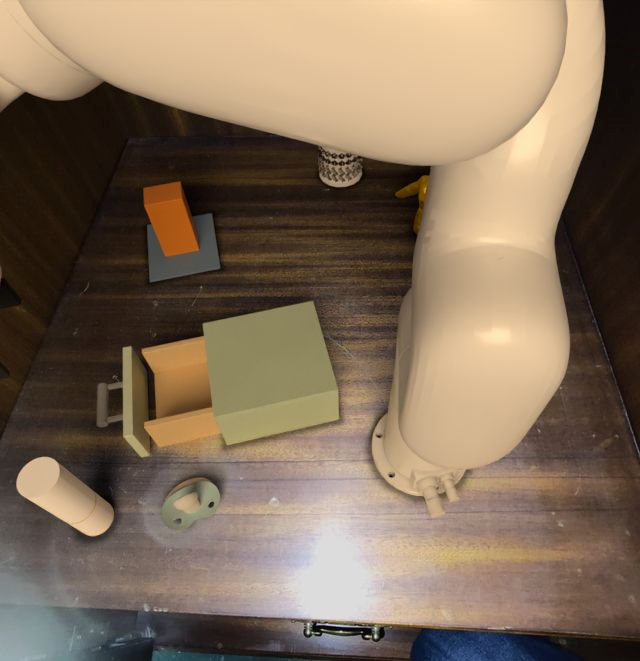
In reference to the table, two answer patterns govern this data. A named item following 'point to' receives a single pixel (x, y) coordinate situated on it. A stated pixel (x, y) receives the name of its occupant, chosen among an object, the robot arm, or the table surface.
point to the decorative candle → (339, 167)
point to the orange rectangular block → (171, 218)
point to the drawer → (163, 396)
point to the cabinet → (269, 373)
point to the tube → (64, 496)
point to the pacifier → (190, 503)
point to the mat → (187, 261)
